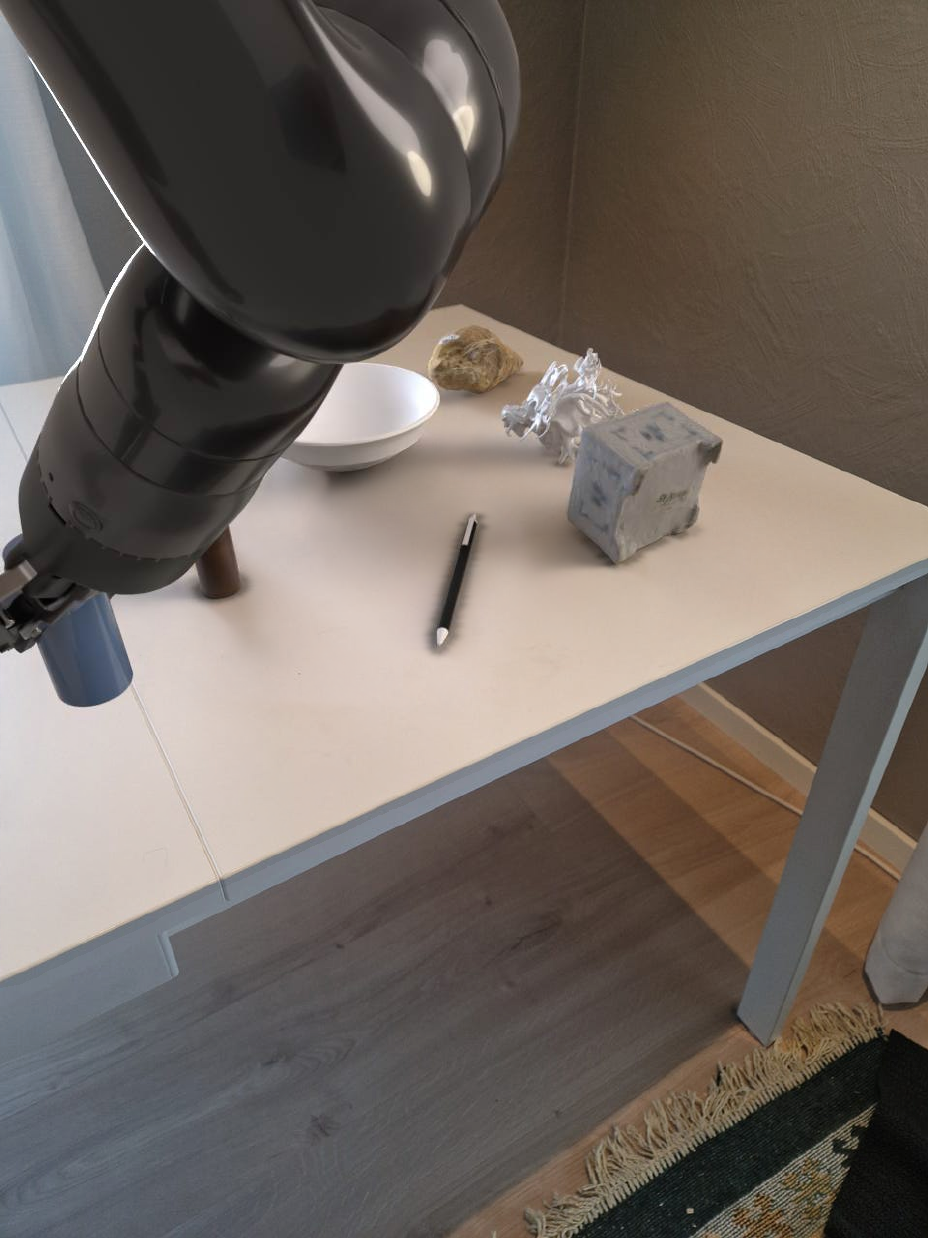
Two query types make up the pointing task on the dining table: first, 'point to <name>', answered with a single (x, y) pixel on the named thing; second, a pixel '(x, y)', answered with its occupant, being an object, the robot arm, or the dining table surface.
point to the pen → (456, 581)
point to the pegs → (219, 568)
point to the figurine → (563, 407)
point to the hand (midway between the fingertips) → (51, 612)
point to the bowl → (365, 418)
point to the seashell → (472, 360)
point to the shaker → (85, 652)
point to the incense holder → (640, 478)
